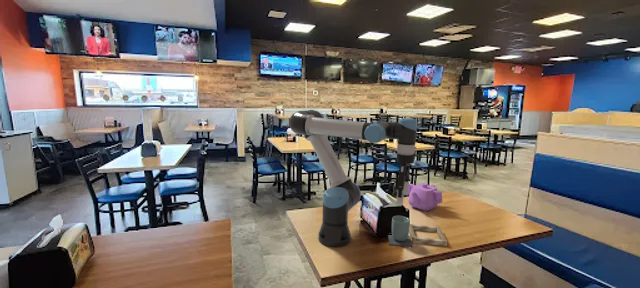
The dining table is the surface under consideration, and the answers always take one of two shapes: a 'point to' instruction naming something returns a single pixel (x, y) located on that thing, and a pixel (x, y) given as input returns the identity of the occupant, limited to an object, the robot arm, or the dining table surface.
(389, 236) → the coaster
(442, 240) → the holder
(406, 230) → the cup
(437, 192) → the teapot
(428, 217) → the dining table surface
